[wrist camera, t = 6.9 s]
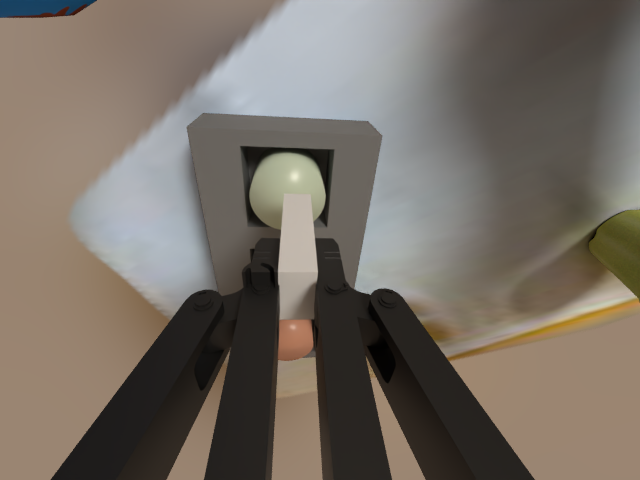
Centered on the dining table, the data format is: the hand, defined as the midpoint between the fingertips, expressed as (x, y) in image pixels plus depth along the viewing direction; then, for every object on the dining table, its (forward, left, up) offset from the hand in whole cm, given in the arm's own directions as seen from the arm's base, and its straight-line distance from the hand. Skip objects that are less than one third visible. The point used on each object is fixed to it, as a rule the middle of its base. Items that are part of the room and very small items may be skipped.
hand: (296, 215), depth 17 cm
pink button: (+16, -1, -7) cm, 18 cm away
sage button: (0, -1, -7) cm, 7 cm away
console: (+8, -1, -8) cm, 11 cm away
